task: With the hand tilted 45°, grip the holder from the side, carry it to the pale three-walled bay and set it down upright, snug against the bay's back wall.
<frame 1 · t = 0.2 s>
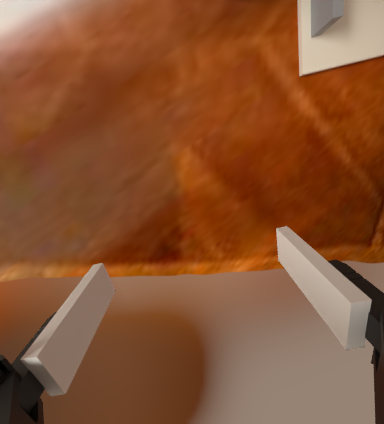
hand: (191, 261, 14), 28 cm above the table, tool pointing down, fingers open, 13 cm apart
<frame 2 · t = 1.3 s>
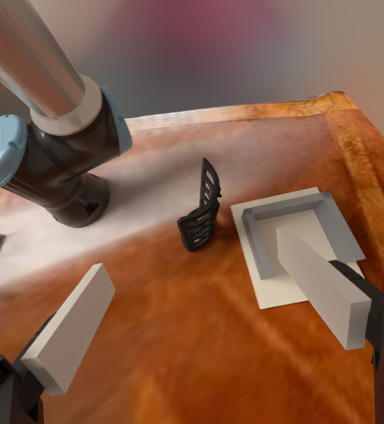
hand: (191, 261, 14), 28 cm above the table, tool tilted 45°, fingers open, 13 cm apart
holder: (201, 230, 44), on the table
bay: (289, 242, 40), on the table
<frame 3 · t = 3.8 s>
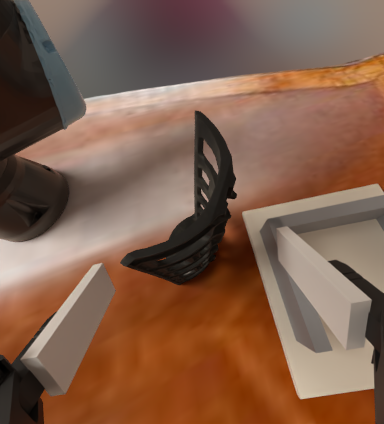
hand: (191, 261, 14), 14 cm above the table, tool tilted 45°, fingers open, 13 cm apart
holder: (197, 249, 29), on the table
bay: (340, 274, 25), on the table
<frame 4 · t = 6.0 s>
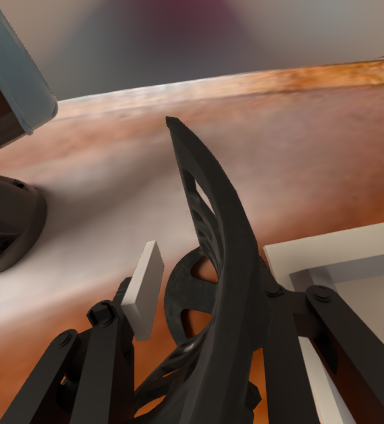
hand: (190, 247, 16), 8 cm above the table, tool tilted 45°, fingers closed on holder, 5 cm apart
holder: (205, 294, 22), on the table, touching gripper
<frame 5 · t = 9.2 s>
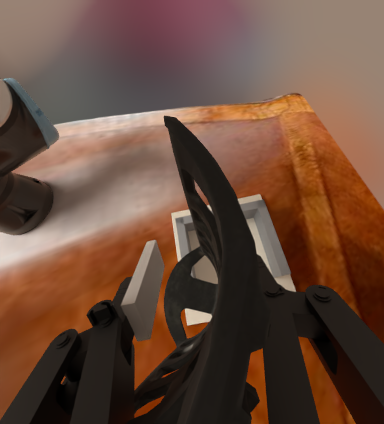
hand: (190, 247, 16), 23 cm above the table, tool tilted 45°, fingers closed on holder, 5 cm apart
holder: (205, 294, 22), point 15 cm above the table, touching gripper
bay: (227, 253, 38), on the table
when the fingers open (11 cm above the table, at t = 12.7 s): holder drops 2 cm, resting on bay.
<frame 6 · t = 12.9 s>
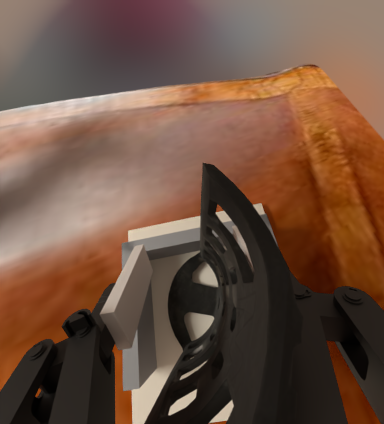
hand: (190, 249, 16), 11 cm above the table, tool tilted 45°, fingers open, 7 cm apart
holder: (206, 297, 23), point 1 cm above the table, touching bay, gripper
bay: (208, 298, 24), on the table
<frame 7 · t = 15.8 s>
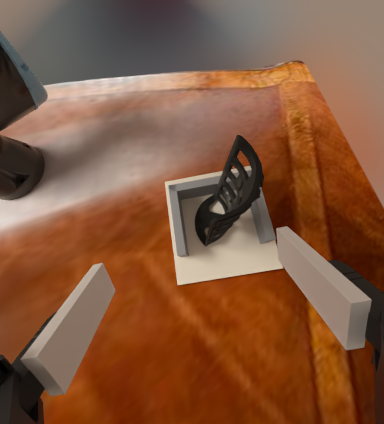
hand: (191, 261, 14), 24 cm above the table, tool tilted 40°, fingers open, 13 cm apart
holder: (217, 220, 39), point 1 cm above the table, touching bay
bay: (218, 222, 40), on the table
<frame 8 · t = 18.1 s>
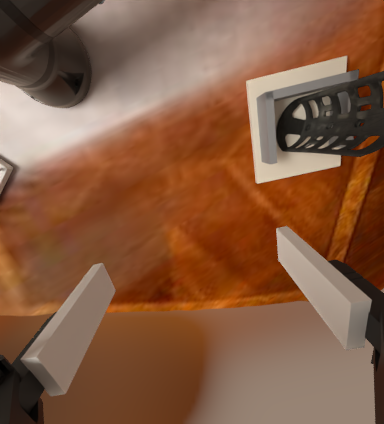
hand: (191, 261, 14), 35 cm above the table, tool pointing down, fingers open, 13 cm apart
holder: (296, 126, 42), point 1 cm above the table, touching bay
bay: (295, 126, 43), on the table
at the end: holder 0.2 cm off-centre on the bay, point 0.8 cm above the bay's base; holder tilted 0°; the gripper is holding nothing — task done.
